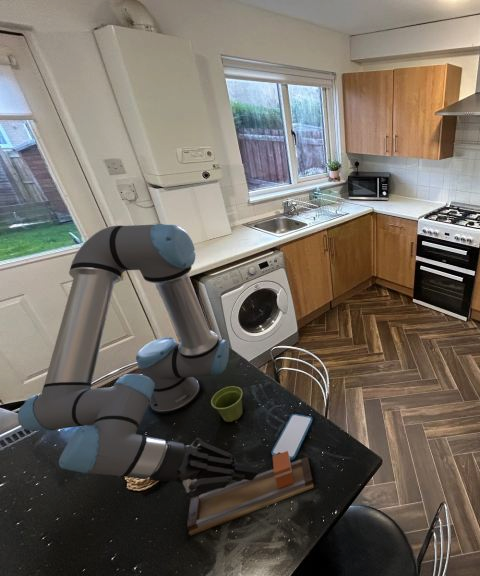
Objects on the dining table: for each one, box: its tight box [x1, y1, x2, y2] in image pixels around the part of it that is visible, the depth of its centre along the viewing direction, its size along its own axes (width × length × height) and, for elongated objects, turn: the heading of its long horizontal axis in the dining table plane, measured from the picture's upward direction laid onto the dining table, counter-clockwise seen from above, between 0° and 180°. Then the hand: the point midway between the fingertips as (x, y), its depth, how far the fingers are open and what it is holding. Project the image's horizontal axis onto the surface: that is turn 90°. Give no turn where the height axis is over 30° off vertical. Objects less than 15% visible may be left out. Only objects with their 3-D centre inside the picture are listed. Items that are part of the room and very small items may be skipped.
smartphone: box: [271, 413, 313, 461], centre depth 99 cm, size 8×1×15 cm
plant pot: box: [210, 385, 244, 423], centre depth 104 cm, size 9×9×9 cm
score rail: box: [186, 456, 315, 537], centre depth 83 cm, size 8×30×3 cm, turn 112°
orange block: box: [271, 451, 294, 489], centre depth 83 cm, size 5×4×9 cm
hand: (254, 474), depth 80 cm, fingers closed
